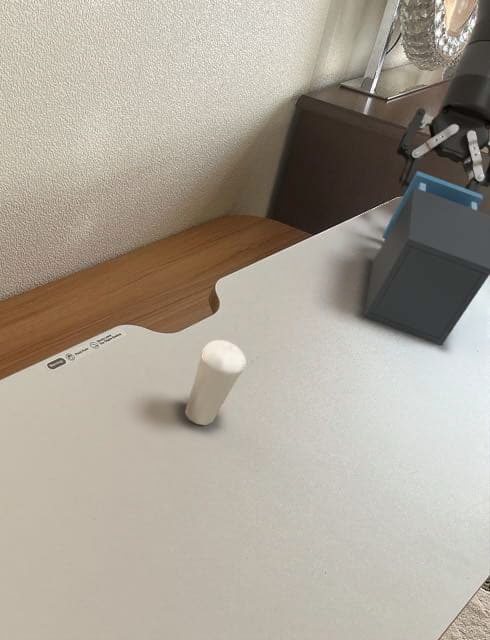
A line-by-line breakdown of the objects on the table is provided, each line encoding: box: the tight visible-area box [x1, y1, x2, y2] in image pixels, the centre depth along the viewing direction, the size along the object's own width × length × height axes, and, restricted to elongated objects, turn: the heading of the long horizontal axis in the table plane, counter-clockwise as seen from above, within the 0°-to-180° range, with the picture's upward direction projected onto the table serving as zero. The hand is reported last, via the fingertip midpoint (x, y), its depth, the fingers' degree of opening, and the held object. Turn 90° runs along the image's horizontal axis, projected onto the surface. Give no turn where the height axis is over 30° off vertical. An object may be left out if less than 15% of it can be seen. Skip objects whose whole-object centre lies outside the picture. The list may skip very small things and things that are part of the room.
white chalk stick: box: [184, 339, 259, 426], centre depth 91 cm, size 4×5×10 cm
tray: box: [382, 170, 484, 240], centre depth 120 cm, size 16×9×10 cm, turn 164°
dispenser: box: [364, 187, 490, 346], centre depth 114 cm, size 14×11×12 cm
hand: (433, 198), depth 125 cm, fingers open, 8 cm apart
